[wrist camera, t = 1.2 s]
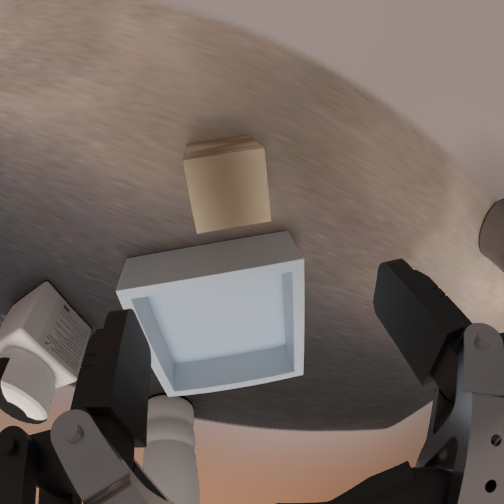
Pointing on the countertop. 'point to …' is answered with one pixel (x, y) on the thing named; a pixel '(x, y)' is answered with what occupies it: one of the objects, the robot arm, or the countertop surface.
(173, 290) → the gray bin
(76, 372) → the container
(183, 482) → the water bottle
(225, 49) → the countertop surface
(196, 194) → the maple block
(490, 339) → the robot arm
